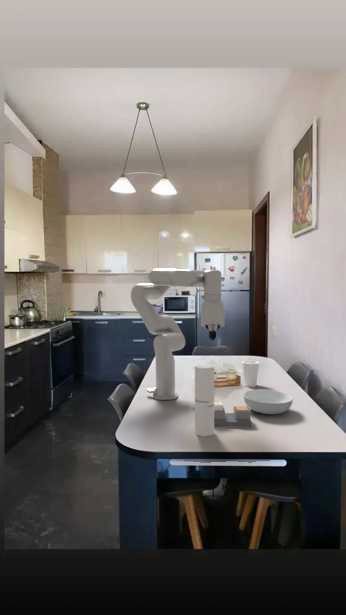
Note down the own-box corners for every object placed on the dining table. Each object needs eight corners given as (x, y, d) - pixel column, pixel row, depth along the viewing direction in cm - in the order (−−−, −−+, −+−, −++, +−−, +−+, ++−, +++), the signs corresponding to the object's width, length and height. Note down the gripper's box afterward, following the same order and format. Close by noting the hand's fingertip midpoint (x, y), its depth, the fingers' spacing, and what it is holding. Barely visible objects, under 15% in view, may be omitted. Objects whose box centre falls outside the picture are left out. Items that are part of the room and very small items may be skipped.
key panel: (210, 426, 141) (210, 412, 141) (208, 417, 151) (208, 404, 151) (251, 427, 140) (251, 413, 140) (247, 417, 150) (247, 404, 150)
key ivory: (211, 412, 143) (211, 405, 143) (211, 409, 148) (210, 401, 148) (222, 412, 143) (222, 405, 143) (221, 409, 148) (221, 401, 148)
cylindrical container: (193, 429, 139) (193, 364, 137) (212, 428, 139) (212, 363, 138) (196, 436, 132) (196, 368, 130) (215, 435, 132) (215, 368, 131)
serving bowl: (285, 423, 145) (285, 406, 144) (236, 413, 156) (236, 398, 155) (297, 408, 162) (298, 393, 162) (252, 400, 173) (252, 386, 173)
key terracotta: (237, 417, 143) (237, 410, 143) (235, 413, 148) (235, 406, 147) (248, 417, 143) (248, 410, 143) (246, 413, 148) (246, 406, 147)
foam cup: (240, 386, 198) (240, 363, 198) (243, 382, 207) (243, 360, 206) (257, 388, 195) (257, 364, 194) (260, 384, 203) (260, 361, 203)
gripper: (195, 298, 156) (195, 341, 157) (230, 298, 155) (230, 341, 156) (195, 298, 163) (195, 338, 164) (228, 298, 163) (228, 338, 164)
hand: (212, 339), depth 160 cm, fingers closed
